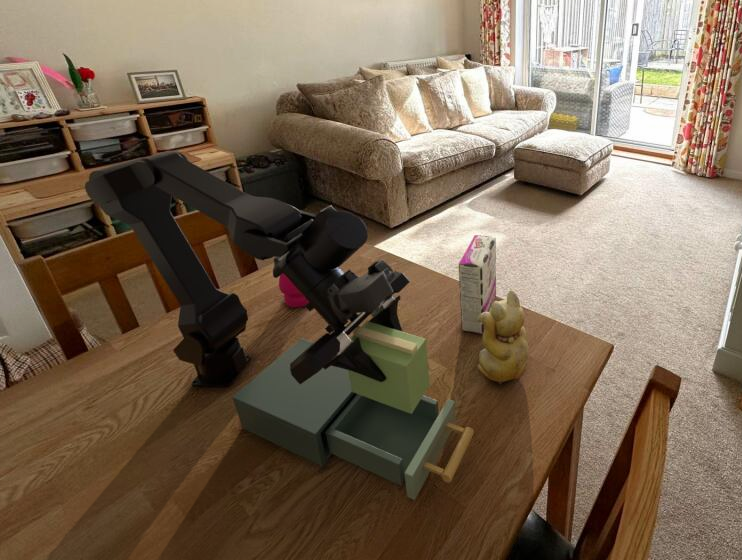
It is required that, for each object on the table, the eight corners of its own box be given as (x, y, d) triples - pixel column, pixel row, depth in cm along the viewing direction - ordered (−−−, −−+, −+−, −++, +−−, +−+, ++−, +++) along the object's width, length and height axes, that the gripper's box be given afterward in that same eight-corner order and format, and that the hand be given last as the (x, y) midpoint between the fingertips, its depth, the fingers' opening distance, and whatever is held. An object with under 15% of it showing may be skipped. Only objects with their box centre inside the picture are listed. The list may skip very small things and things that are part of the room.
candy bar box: (475, 296, 92) (474, 233, 86) (496, 299, 91) (497, 236, 85) (459, 331, 81) (457, 262, 75) (483, 335, 81) (483, 266, 74)
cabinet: (379, 394, 68) (375, 364, 65) (322, 466, 57) (315, 434, 54) (307, 366, 73) (301, 337, 70) (242, 428, 62) (232, 397, 59)
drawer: (480, 433, 61) (480, 410, 59) (443, 514, 51) (441, 489, 49) (377, 393, 67) (374, 371, 65) (326, 459, 57) (321, 435, 55)
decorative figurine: (503, 342, 79) (505, 278, 73) (539, 362, 75) (543, 296, 69) (471, 375, 72) (470, 307, 66) (508, 400, 67) (511, 329, 62)
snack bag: (411, 414, 55) (405, 361, 52) (351, 392, 58) (341, 341, 55) (430, 384, 60) (425, 334, 56) (373, 365, 63) (365, 316, 59)
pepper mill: (309, 309, 86) (293, 227, 79) (276, 308, 86) (256, 226, 79) (324, 288, 93) (310, 211, 85) (293, 287, 93) (276, 210, 86)
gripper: (290, 299, 44) (384, 406, 45) (394, 224, 60) (461, 302, 61) (253, 335, 49) (337, 430, 50) (357, 257, 66) (420, 329, 66)
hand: (395, 365), depth 57 cm, fingers closed on snack bag, 5 cm apart
